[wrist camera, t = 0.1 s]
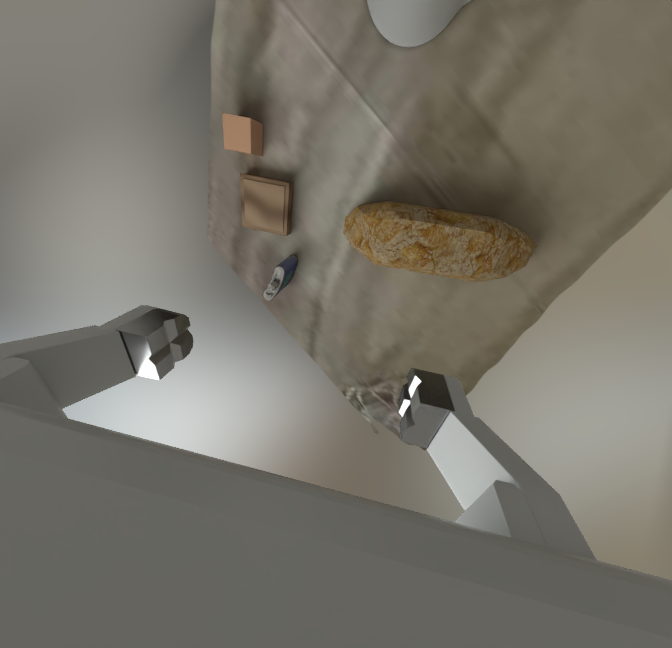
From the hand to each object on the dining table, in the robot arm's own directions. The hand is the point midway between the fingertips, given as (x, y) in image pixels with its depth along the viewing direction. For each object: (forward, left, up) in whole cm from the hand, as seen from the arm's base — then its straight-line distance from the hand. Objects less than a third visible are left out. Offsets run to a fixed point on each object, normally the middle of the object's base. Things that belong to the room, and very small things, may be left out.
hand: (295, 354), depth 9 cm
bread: (+2, +14, -48) cm, 50 cm away
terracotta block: (-9, -25, -48) cm, 55 cm away
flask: (+16, -16, -48) cm, 53 cm away
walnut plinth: (+2, -21, -48) cm, 52 cm away
